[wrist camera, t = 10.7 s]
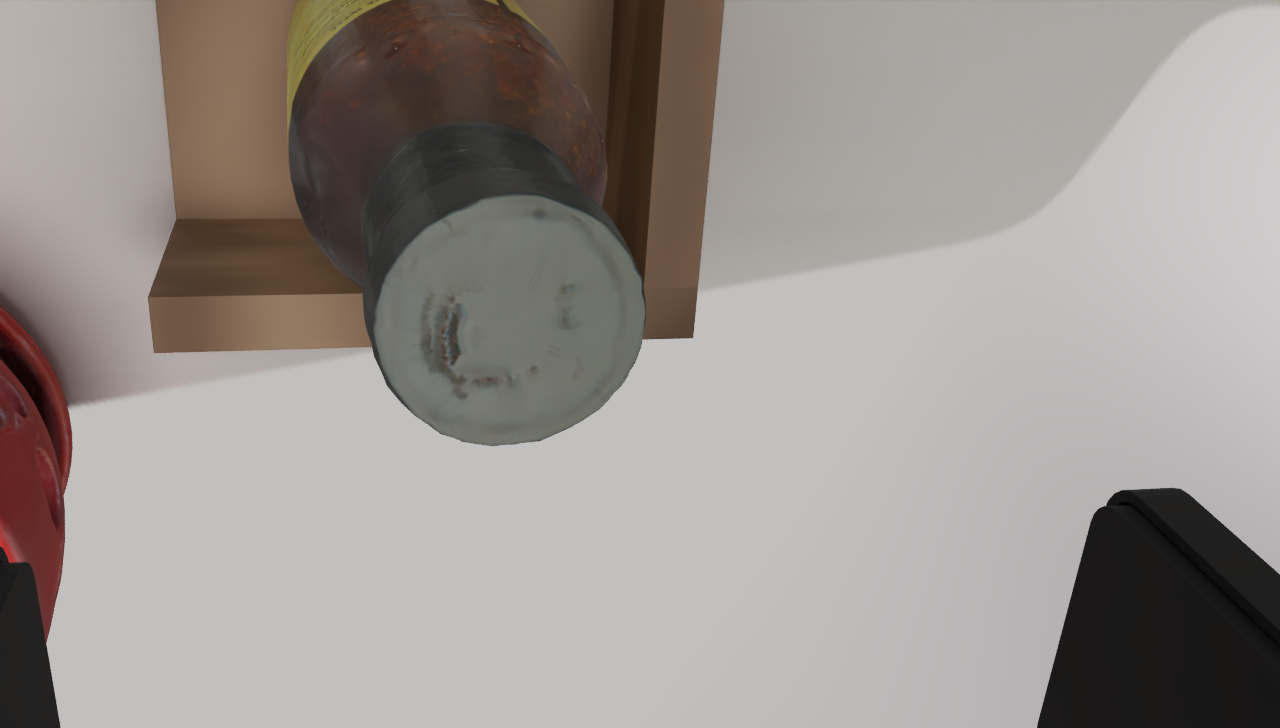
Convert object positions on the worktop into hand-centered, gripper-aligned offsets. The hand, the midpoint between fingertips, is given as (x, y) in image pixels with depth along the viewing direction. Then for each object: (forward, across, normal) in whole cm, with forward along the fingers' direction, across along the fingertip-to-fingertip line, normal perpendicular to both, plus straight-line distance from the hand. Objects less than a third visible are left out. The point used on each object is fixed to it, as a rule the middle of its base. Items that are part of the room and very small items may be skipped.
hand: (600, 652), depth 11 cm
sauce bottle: (+28, +1, 0) cm, 28 cm away
